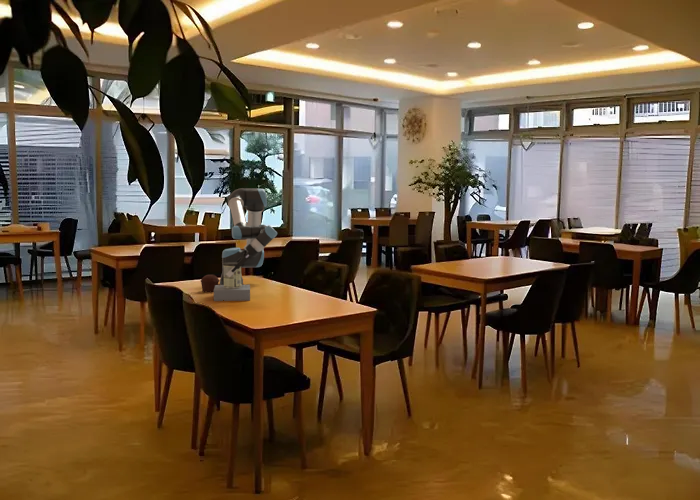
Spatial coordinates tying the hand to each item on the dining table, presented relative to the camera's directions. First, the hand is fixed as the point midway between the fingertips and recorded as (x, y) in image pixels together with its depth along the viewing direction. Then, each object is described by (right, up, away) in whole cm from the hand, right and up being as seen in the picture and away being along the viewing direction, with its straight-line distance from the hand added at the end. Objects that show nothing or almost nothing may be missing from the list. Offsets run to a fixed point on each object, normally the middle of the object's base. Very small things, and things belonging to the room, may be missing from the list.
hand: (228, 274), depth 380 cm
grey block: (+2, -14, +2) cm, 14 cm away
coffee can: (+2, -8, +1) cm, 8 cm away
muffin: (-15, -12, +24) cm, 31 cm away
